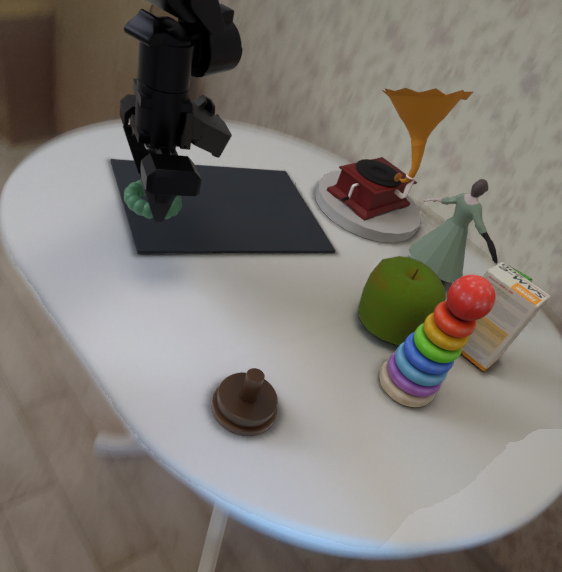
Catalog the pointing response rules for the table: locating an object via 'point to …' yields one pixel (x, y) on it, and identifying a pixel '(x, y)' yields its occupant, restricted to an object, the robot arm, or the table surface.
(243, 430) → the stand
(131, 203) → the ring
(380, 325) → the apple
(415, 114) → the gramophone
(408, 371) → the stacking toy
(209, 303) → the table surface
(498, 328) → the supplement box
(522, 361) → the table surface
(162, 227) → the mat
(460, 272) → the character figurine
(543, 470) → the table surface
